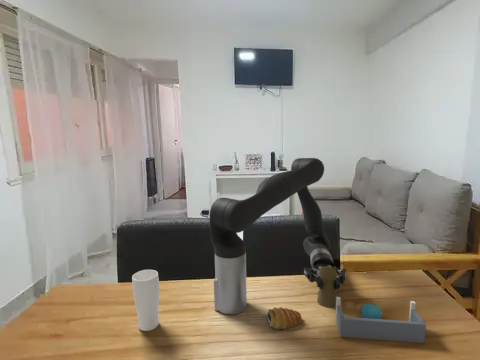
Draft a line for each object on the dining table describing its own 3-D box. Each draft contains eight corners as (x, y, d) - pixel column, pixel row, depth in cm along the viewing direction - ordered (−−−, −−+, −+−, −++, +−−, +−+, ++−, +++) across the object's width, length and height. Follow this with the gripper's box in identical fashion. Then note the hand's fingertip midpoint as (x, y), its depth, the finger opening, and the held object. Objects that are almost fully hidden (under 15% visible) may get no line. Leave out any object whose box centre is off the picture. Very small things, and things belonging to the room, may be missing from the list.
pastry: (296, 313, 87) (297, 301, 87) (305, 328, 81) (305, 315, 80) (265, 317, 86) (265, 304, 85) (271, 332, 79) (271, 319, 79)
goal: (340, 336, 77) (341, 311, 76) (335, 320, 84) (336, 296, 83) (424, 343, 74) (426, 317, 73) (412, 325, 81) (414, 301, 80)
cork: (338, 308, 89) (339, 273, 87) (317, 306, 90) (318, 272, 89) (336, 297, 95) (337, 264, 93) (316, 295, 96) (317, 263, 94)
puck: (364, 323, 82) (364, 313, 82) (359, 312, 87) (360, 303, 87) (383, 324, 81) (384, 314, 81) (377, 313, 86) (378, 304, 86)
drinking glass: (138, 337, 78) (133, 283, 76) (134, 323, 84) (130, 272, 82) (164, 329, 81) (160, 277, 79) (158, 315, 87) (155, 267, 85)
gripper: (301, 251, 106) (305, 273, 89) (343, 252, 104) (354, 276, 87) (301, 271, 107) (304, 297, 90) (342, 273, 105) (353, 300, 88)
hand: (329, 286), depth 89 cm, fingers closed on cork, 4 cm apart
